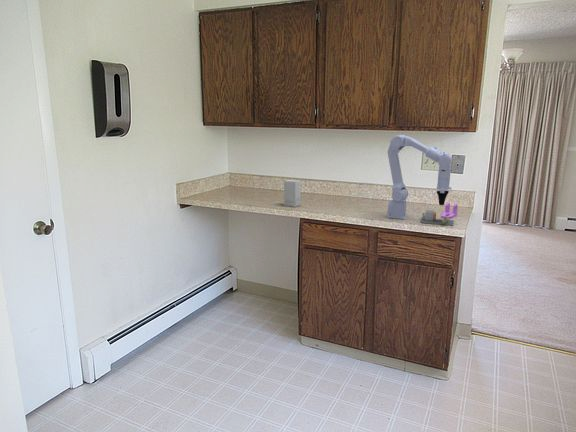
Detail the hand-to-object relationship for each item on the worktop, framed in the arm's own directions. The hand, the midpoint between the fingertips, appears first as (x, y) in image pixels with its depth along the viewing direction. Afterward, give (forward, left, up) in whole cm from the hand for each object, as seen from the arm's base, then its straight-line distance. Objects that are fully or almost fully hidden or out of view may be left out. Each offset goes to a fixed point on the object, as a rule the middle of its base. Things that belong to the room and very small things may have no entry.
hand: (441, 204), depth 223 cm
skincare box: (-86, +10, -10) cm, 87 cm away
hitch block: (-3, +3, -9) cm, 10 cm away
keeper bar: (+3, -2, -8) cm, 9 cm away
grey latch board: (-2, +2, -9) cm, 10 cm away
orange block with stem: (-6, +3, -8) cm, 10 cm away
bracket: (+4, +17, -10) cm, 20 cm away
